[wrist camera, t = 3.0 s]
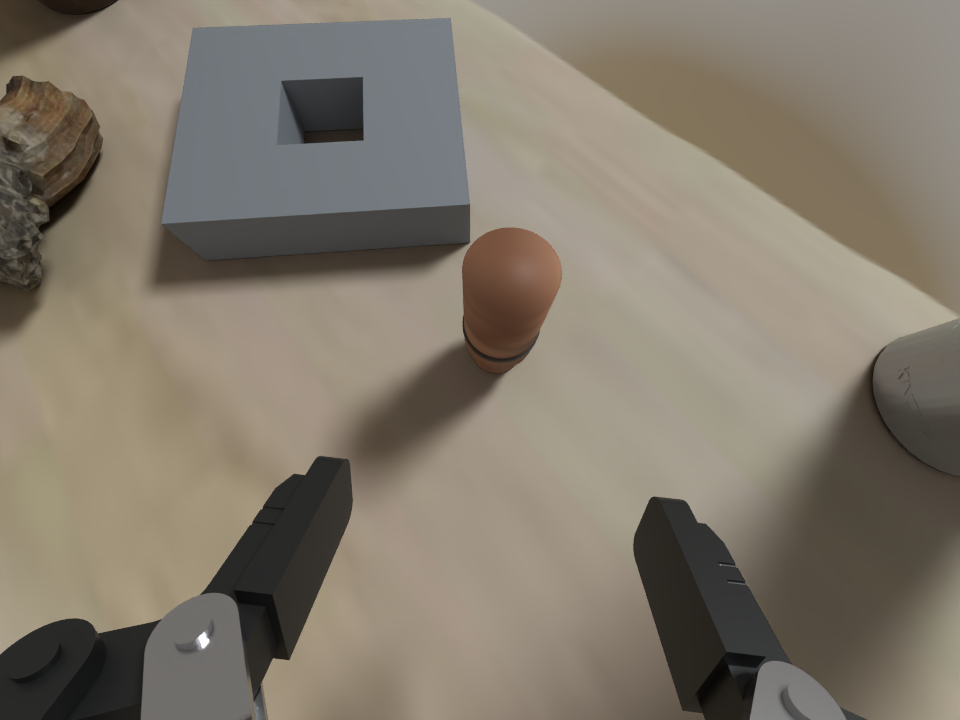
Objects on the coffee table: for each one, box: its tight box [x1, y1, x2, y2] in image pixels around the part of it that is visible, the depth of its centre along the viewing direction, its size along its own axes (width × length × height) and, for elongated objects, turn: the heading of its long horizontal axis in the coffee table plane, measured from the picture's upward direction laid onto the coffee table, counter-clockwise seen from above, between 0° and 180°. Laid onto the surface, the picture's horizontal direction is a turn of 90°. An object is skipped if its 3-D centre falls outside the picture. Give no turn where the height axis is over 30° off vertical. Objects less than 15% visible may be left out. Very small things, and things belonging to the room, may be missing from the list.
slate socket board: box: [161, 18, 470, 261], centre depth 27 cm, size 18×16×4 cm
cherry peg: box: [462, 228, 562, 373], centre depth 20 cm, size 4×4×10 cm
